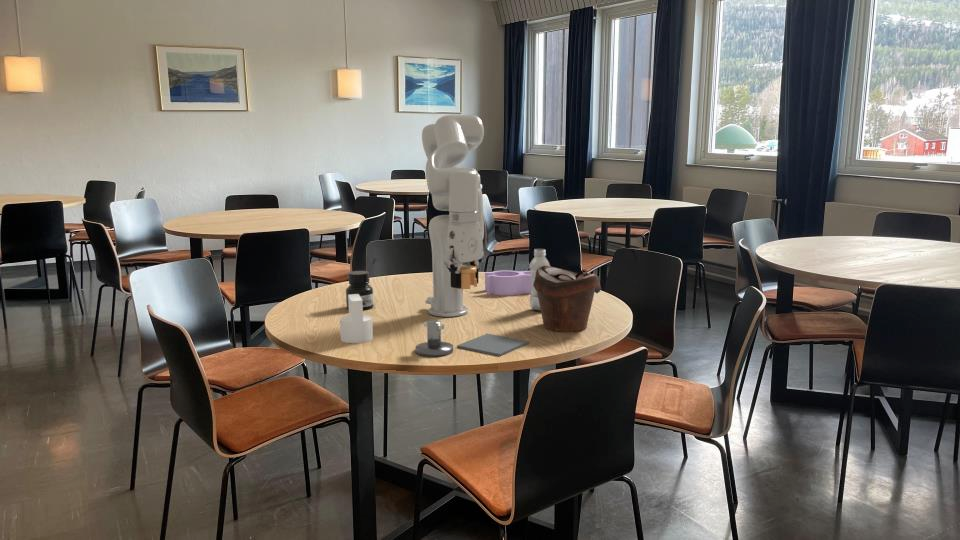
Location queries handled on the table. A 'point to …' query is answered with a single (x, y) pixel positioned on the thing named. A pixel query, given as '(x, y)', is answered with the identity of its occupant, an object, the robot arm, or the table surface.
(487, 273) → the clip
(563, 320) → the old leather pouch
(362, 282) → the ink bottle
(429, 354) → the grey post on disc
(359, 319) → the cylinder with rectangular tab
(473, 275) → the orange ellipsoid with prongs
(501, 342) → the mat
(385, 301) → the table surface
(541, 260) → the plastic bottle
